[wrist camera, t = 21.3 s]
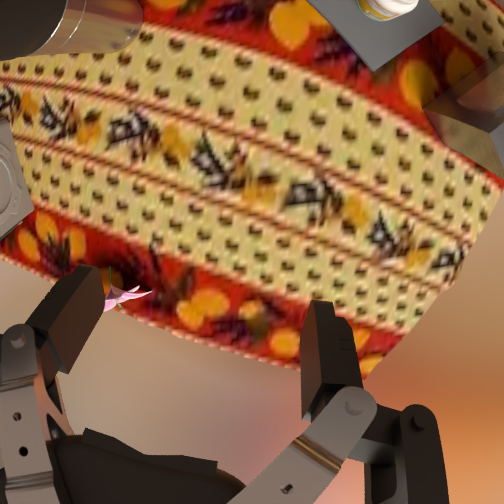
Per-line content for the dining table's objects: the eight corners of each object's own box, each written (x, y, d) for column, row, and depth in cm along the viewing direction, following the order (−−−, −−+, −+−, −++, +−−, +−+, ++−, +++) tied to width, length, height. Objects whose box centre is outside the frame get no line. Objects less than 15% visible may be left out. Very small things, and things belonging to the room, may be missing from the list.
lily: (99, 292, 57) (101, 336, 52) (72, 259, 47) (69, 308, 42) (154, 278, 59) (160, 323, 53) (134, 241, 49) (137, 292, 43)
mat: (296, -9, 28) (296, -11, 27) (373, -55, 22) (375, -58, 21) (371, 71, 32) (373, 71, 31) (441, 23, 27) (445, 22, 26)
